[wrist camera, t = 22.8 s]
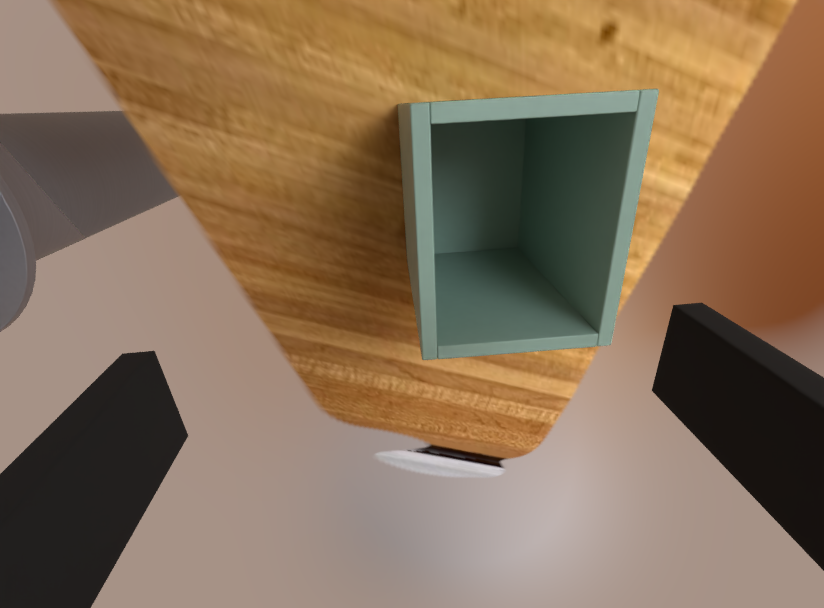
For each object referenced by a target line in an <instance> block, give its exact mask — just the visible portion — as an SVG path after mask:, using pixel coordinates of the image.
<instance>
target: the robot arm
mask: <svg viewBox="0 0 824 608" xmlns="http://www.w3.org/2000/svg"><path fill="white" fill-rule="evenodd" d="M652 391H653V392H654V393H655V394H656V395H657V397H658V398H659V399H660V400H661V401H662V402H663V403H664V404H665V405H666V406H667V407H668V408H669V409H670V410H671V411H672V412H673V413H674V414H675V415H676V416H677V417H678V419H679V420H680V421H682V423H683V424H684V425H685V426H686V427H687V428H688V429H689V430H690V431H691V432H692V433H693V434H694V435H695V436H696V437H697V438H698V439H699V440H700V442H701V443H702V444H703V445H704V446H705V447H706V448H707V449H708V450H709V451H710V452H711V453H712V454H713V455H714V456H715V457H716V458H717V459H718V460H719V461H720V463H721V464H722V465H724V467H725V468H726V469H727V470H728V471H729V472H730V473H731V474H732V475H733V476H734V477H735V478H736V479H737V480H738V481H739V482H740V483H741V484H742V486H743V487H744V488H745V489H746V490H747V491H748V492H749V493H750V494H751V495H752V496H753V497H754V498H755V499H756V500H757V501H758V502H759V503H760V504H761V505H762V507H764V508H765V510H766V511H767V512H768V513H769V514H770V515H771V516H772V517H773V518H774V519H775V520H776V521H777V522H778V523H779V524H780V525H781V526H782V527H783V529H784V530H785V531H786V532H787V533H788V534H789V535H790V536H791V537H792V538H793V539H794V540H795V541H796V542H797V543H798V544H799V545H800V546H801V547H802V548H803V549H804V551H805V552H806V553H807V554H809V556H810V557H811V558H812V559H813V560H814V561H815V562H816V563H817V564H818V565H819V566H820V567H821V568H822V569H823V570H824V378H823V377H822V376H820V375H819V374H817V373H815V372H814V371H812V370H810V369H809V368H807V367H806V366H804V365H802V364H801V363H799V362H797V361H796V360H794V359H793V358H791V357H789V356H788V355H786V354H784V353H783V352H781V351H779V350H778V349H776V348H775V347H773V346H771V345H770V344H768V343H767V342H765V341H763V340H762V339H760V338H758V337H757V336H755V335H753V334H752V333H750V332H749V331H747V330H745V329H744V328H742V327H741V326H739V325H737V324H736V323H734V322H732V321H731V320H729V319H728V318H726V317H724V316H723V315H721V314H719V313H718V312H716V311H715V310H713V309H711V308H710V307H708V306H706V305H705V304H703V303H694V304H682V305H673V309H672V313H671V317H670V321H669V325H668V329H667V333H666V337H665V341H664V345H663V348H662V353H661V356H660V361H659V364H658V368H657V373H656V376H655V380H654V384H653V388H652ZM187 437H188V434H187V431H186V429H185V427H184V424H183V421H182V419H181V417H180V414H179V411H178V409H177V407H176V404H175V401H174V399H173V396H172V394H171V391H170V389H169V386H168V384H167V381H166V379H165V376H164V374H163V371H162V369H161V366H160V364H159V361H158V359H157V356H156V354H155V351H148V352H137V353H127V354H122V355H121V356H120V357H119V358H118V359H117V360H116V361H115V362H114V363H113V364H112V365H110V366H109V367H108V369H106V370H105V371H104V373H102V374H101V375H100V376H99V377H98V378H97V379H96V380H95V381H94V382H93V383H92V384H91V385H90V386H89V387H88V388H87V389H86V390H85V391H84V392H83V393H82V394H81V395H80V396H79V397H78V398H77V399H76V400H75V401H74V402H73V403H72V404H71V405H70V406H69V407H68V408H67V409H66V410H65V411H64V412H63V413H62V414H61V415H60V416H59V417H58V418H57V419H56V420H55V421H54V422H53V423H52V424H51V425H50V426H49V427H48V428H47V429H46V430H45V431H44V432H43V433H42V434H41V435H40V436H39V437H38V438H36V439H35V440H34V441H33V443H31V444H30V445H29V446H28V447H27V448H26V449H25V450H24V451H23V452H22V453H21V454H20V455H19V456H18V457H17V458H16V459H15V460H14V461H13V462H12V463H11V464H10V465H9V466H8V467H7V468H6V469H5V470H4V471H3V472H2V473H1V474H0V608H91V606H92V604H93V603H94V600H95V599H96V597H97V595H98V594H99V592H100V590H101V588H102V587H103V585H104V583H105V581H106V580H107V578H108V576H109V574H110V572H111V571H112V569H113V567H114V566H115V564H116V562H117V560H118V559H119V557H120V555H121V553H122V551H123V550H124V548H125V546H126V544H127V543H128V541H129V539H130V537H131V536H132V534H133V532H134V530H135V528H136V527H137V525H138V523H139V521H140V520H141V518H142V516H143V514H144V513H145V511H146V509H147V507H148V506H149V504H150V502H151V500H152V499H153V497H154V495H155V493H156V491H157V490H158V488H159V486H160V484H161V483H162V481H163V479H164V477H165V475H166V474H167V472H168V470H169V469H170V467H171V465H172V463H173V461H174V459H175V458H176V456H177V454H178V453H179V451H180V449H181V447H182V446H183V444H184V442H185V440H186V439H187Z"/></svg>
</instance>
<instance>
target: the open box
mask: <svg viewBox="0 0 824 608" xmlns="http://www.w3.org/2000/svg"><path fill="white" fill-rule="evenodd" d="M658 93H659V90H658V89H645V90H627V91H610V92H592V93H575V94H558V95H540V96H523V97H506V98H489V99H472V100H455V101H438V102H421V103H404V104H398V121H399V137H400V153H401V169H402V186H403V202H404V218H405V235H406V251H407V263H408V270H409V276H410V283H411V289H412V296H413V302H414V309H415V315H416V322H417V328H418V335H419V341H420V348H421V354H422V359H423V360H432V359H437V358H438V359H447V358H459V357H472V356H484V355H497V354H509V353H522V352H534V351H547V350H559V349H572V348H584V347H596V346H606V345H611V343H612V336H613V332H614V326H615V321H616V316H617V311H618V305H619V300H620V295H621V289H622V284H623V279H624V273H625V268H626V263H627V258H628V252H629V247H630V242H631V236H632V231H633V226H634V220H635V215H636V210H637V204H638V199H639V194H640V188H641V183H642V178H643V172H644V167H645V162H646V156H647V151H648V146H649V141H650V135H651V130H652V125H653V119H654V114H655V109H656V103H657V98H658Z"/></svg>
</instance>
